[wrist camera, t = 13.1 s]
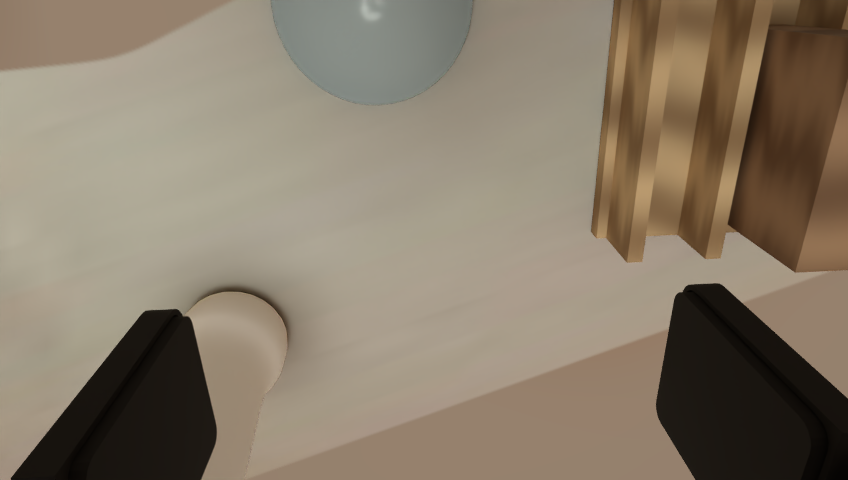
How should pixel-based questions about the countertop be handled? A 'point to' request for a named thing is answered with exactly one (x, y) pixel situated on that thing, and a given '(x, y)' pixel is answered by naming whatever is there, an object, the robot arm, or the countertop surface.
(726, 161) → the rack
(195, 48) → the countertop surface
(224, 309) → the bottle
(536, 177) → the countertop surface
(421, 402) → the countertop surface
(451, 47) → the pale blue rounded part
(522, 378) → the countertop surface
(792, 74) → the board
